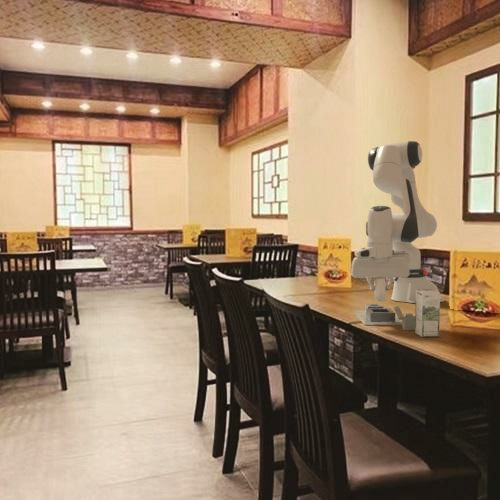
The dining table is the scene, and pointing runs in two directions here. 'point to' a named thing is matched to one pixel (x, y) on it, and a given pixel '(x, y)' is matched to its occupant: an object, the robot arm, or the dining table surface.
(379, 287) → the white rounded cylinder
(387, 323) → the fitting board
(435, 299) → the syrup box
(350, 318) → the dining table surface
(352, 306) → the dining table surface
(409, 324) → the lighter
